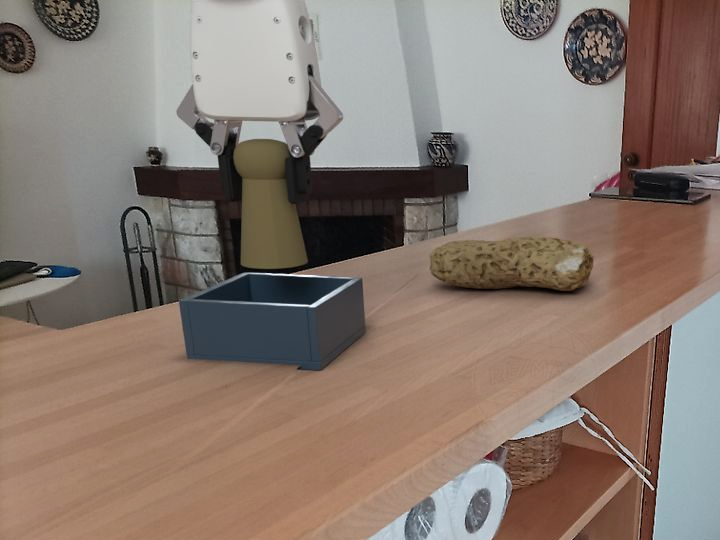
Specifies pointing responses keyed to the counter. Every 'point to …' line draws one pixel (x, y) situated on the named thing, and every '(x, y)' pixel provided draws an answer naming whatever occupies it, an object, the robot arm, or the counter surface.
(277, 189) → the cork
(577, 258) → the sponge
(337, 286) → the bin
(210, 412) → the counter surface
